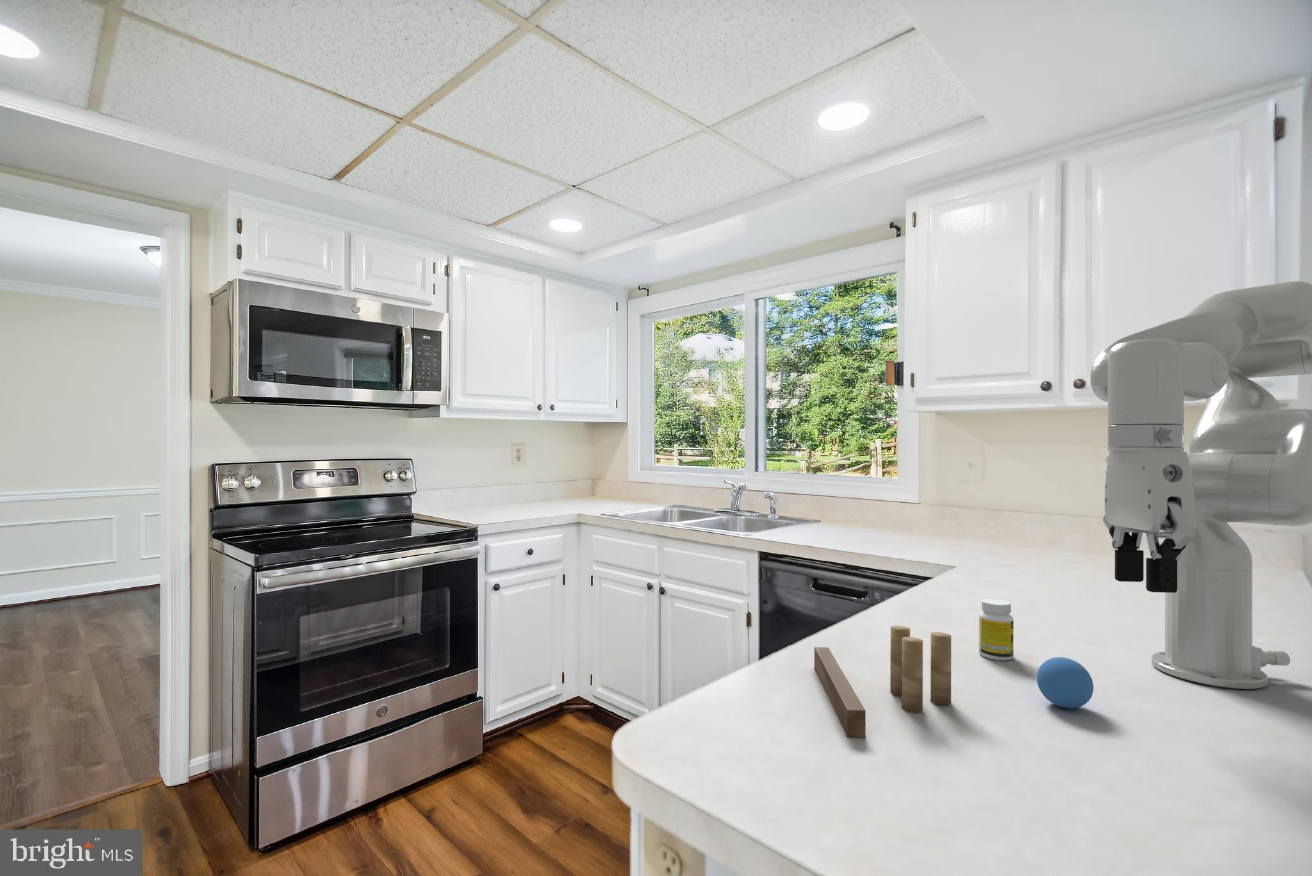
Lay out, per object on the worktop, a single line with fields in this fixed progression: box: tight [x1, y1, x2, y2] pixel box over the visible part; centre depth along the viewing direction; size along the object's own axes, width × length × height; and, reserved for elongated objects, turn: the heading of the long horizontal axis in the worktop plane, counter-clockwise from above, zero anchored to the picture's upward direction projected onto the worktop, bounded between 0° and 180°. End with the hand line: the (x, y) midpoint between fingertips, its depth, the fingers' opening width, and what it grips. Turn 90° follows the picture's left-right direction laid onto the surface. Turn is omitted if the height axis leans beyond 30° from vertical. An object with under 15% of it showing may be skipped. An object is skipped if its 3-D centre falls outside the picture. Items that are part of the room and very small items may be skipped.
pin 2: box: [901, 636, 924, 714], centre depth 79 cm, size 2×2×8 cm
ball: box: [1036, 656, 1095, 709], centre depth 80 cm, size 6×6×6 cm
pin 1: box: [889, 625, 911, 697], centre depth 84 cm, size 2×2×8 cm
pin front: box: [930, 631, 952, 707], centre depth 81 cm, size 2×2×8 cm
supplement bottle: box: [978, 598, 1015, 662], centre depth 99 cm, size 5×5×8 cm
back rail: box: [813, 646, 867, 739], centre depth 82 cm, size 2×22×3 cm, turn 175°
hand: (1144, 584), depth 79 cm, fingers open, 5 cm apart
